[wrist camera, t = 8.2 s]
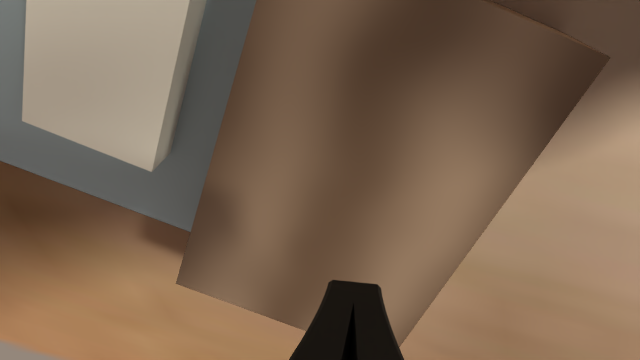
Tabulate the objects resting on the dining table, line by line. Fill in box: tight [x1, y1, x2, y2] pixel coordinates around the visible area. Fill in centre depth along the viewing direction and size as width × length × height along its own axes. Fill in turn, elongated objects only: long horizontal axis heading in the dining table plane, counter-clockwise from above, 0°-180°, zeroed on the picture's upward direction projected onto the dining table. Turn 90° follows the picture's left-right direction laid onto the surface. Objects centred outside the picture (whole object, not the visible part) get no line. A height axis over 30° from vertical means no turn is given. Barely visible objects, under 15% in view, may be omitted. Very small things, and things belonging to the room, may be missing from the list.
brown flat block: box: [176, 0, 610, 347], centre depth 19 cm, size 11×16×4 cm
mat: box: [0, 0, 256, 232], centre depth 20 cm, size 14×16×1 cm
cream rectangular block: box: [22, 0, 207, 172], centre depth 18 cm, size 6×9×2 cm, turn 158°
